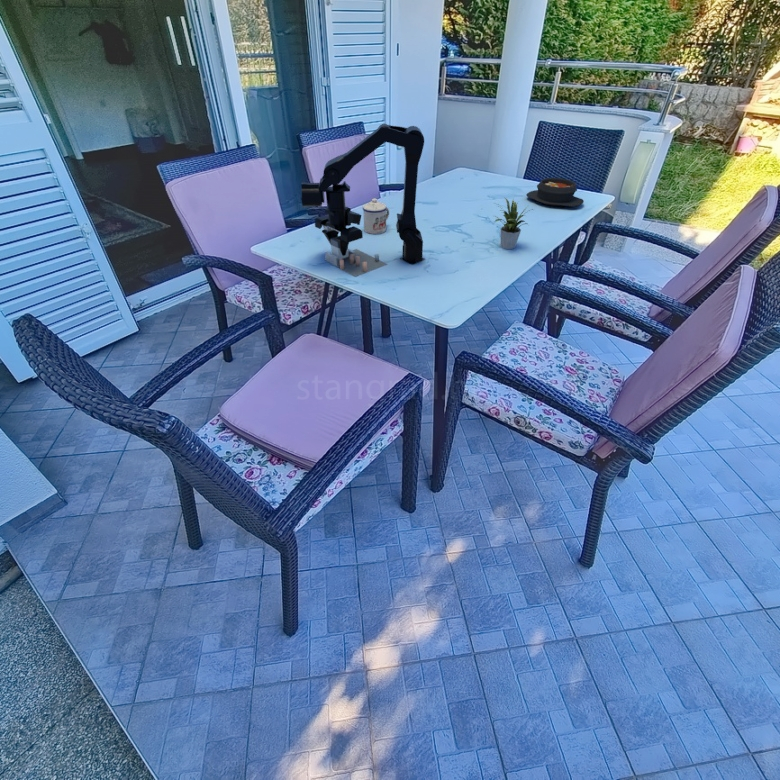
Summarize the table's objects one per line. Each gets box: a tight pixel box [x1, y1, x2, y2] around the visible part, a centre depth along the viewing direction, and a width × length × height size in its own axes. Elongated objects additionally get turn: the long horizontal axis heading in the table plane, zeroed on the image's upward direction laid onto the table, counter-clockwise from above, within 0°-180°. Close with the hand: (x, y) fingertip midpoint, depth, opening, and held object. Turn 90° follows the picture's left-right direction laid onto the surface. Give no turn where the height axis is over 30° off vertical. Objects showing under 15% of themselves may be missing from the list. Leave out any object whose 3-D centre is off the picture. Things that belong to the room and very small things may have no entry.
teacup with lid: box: [362, 198, 390, 235], centre depth 171 cm, size 12×9×12 cm
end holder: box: [324, 248, 355, 268], centre depth 150 cm, size 7×8×3 cm
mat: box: [324, 248, 388, 278], centre depth 150 cm, size 17×14×1 cm
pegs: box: [339, 254, 380, 273], centre depth 147 cm, size 9×14×3 cm, turn 132°
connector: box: [330, 235, 349, 260], centre depth 148 cm, size 4×4×6 cm
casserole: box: [526, 177, 584, 207], centre depth 196 cm, size 25×19×8 cm
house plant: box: [493, 197, 534, 250], centre depth 157 cm, size 14×14×16 cm
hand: (340, 253), depth 150 cm, fingers closed on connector, 4 cm apart
